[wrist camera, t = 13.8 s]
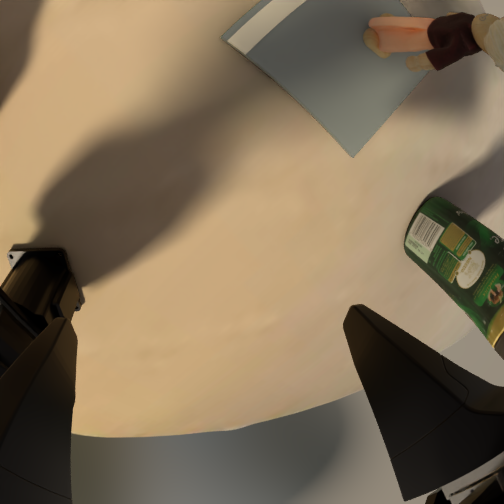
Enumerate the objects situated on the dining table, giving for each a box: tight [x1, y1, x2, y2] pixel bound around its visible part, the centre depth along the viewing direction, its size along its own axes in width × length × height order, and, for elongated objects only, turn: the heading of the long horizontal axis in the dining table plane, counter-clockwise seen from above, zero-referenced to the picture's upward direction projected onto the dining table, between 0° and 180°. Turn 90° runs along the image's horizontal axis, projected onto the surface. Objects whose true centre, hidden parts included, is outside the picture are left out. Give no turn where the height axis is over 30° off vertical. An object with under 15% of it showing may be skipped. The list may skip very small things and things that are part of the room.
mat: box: [220, 0, 429, 158], centre depth 14 cm, size 13×14×1 cm
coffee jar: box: [404, 197, 504, 360], centre depth 19 cm, size 10×8×19 cm
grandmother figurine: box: [363, 12, 504, 72], centre depth 9 cm, size 8×4×13 cm, turn 150°
